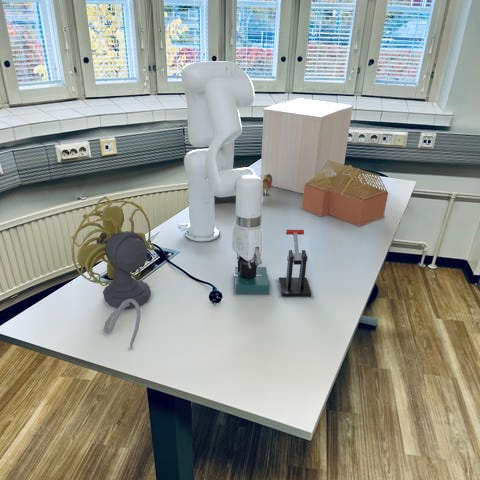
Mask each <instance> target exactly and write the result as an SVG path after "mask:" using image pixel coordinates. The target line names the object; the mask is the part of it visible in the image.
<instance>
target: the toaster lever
mask: <svg viewBox="0 0 480 480" xmlns="http://www.w3.org/2000/svg"><path fill="white" fill-rule="evenodd" d="M304 234H305V229H286V230H285V235H287V236H288V235H289V236H290V235H293V236H292V237H293V247H294V248H293V249H294V252H293V256H294V259H293V266H294V265H296V266H297V265H299V266H300V265H301V261H302V256H301V254H302V252H300V251H299V250H300V249H299V239H298V236H299V235H300V236H303V235H304Z"/></svg>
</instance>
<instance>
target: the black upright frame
mask: <svg viewBox="0 0 480 480" xmlns="http://www.w3.org/2000/svg"><path fill="white" fill-rule="evenodd" d="M287 254H288V255H287V257H286V260H287V267H286V275H285V276H286V277H282V276H281V277H278V284H279V289H280V295H281V297H283V298H284V297H285V298H300V297H301V298H311V297H312V291H311V288H310V285H309V281H308V278H307V277H306V271H307V270H306V269H307V263H308V260H309V259H308V258H309V257H308V254H307V251H306V250H305V249H302V250H301V256H302V261H301V265H299V273H298V274H299V275H298V276H297V277H293V268H294V264H293V259H294V256H293V255H294V252H293V250H292V249H289V250H288V253H287Z"/></svg>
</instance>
